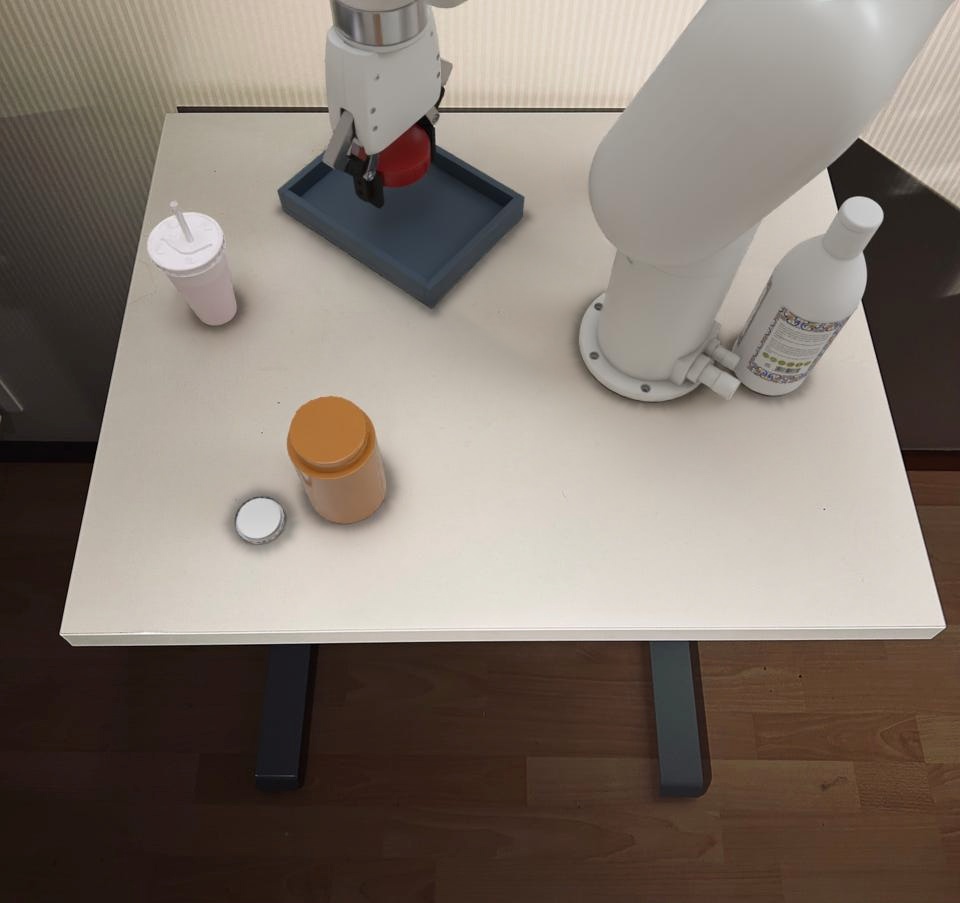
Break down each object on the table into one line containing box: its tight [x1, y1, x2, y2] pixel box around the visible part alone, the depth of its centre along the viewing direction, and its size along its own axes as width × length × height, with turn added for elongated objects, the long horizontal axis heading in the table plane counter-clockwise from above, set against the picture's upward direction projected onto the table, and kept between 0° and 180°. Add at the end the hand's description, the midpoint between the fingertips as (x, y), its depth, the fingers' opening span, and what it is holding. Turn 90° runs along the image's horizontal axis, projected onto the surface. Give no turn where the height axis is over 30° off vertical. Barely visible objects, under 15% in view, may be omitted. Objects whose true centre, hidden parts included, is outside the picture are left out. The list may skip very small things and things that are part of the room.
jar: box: [286, 395, 388, 525], centre depth 63 cm, size 7×7×11 cm
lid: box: [358, 123, 431, 188], centre depth 74 cm, size 7×7×2 cm
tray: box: [277, 144, 525, 309], centre depth 80 cm, size 20×15×3 cm
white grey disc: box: [233, 495, 286, 545], centre depth 66 cm, size 4×4×1 cm
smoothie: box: [146, 200, 238, 327], centre depth 69 cm, size 6×6×14 cm
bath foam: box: [731, 196, 884, 396], centre depth 64 cm, size 7×7×20 cm
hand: (396, 175), depth 77 cm, fingers closed on lid, 6 cm apart
